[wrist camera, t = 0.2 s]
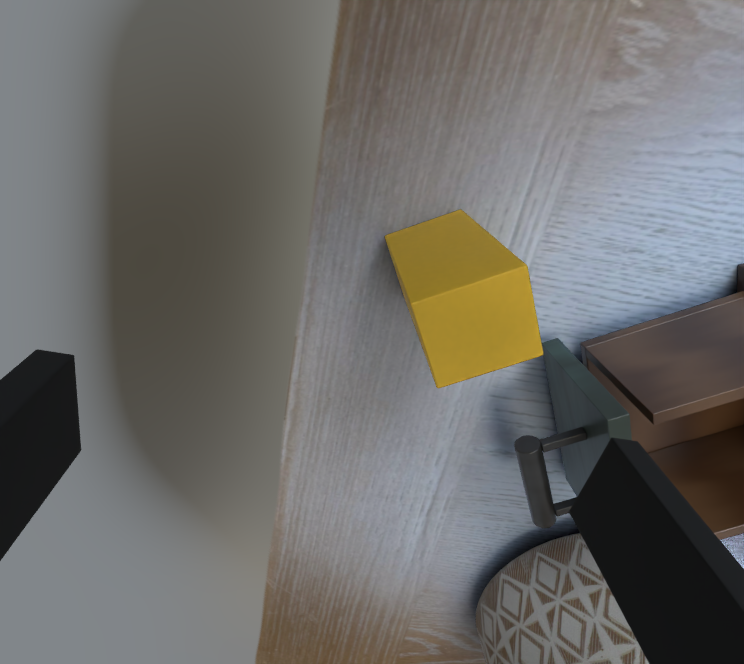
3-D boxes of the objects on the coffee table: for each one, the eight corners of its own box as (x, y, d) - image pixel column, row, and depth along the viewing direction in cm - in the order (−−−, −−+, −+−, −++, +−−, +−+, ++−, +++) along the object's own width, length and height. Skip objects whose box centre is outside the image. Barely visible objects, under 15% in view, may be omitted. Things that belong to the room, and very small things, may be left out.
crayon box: (384, 235, 29) (410, 303, 19) (461, 208, 29) (527, 264, 19) (404, 298, 31) (437, 389, 21) (476, 274, 31) (544, 355, 21)
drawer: (513, 494, 39) (559, 594, 31) (479, 362, 33) (525, 445, 25) (756, 422, 37) (870, 509, 29) (767, 271, 31) (912, 327, 23)
